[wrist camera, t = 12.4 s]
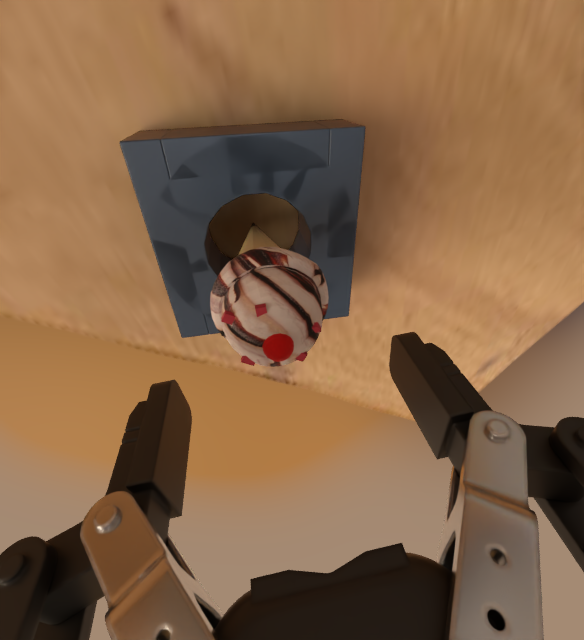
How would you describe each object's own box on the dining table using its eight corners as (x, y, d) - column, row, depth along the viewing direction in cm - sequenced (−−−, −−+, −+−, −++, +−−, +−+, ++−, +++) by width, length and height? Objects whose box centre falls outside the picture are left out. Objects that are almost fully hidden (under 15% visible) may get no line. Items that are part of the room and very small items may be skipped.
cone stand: (342, 119, 21) (366, 126, 17) (333, 287, 29) (348, 316, 25) (137, 130, 19) (118, 141, 16) (187, 305, 27) (181, 338, 24)
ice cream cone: (304, 207, 24) (381, 327, 12) (269, 268, 27) (306, 417, 15) (233, 169, 22) (244, 272, 10) (203, 240, 24) (183, 391, 12)
